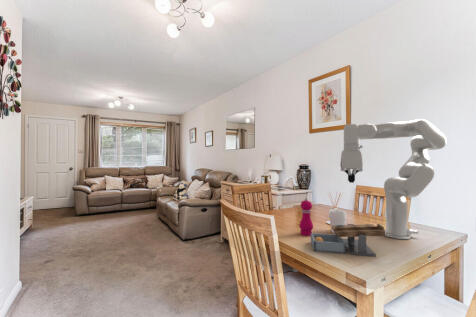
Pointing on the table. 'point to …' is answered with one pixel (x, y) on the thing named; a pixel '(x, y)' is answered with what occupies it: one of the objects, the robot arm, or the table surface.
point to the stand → (358, 245)
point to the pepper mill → (306, 218)
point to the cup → (337, 217)
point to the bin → (328, 243)
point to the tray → (358, 230)
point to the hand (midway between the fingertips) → (351, 182)
